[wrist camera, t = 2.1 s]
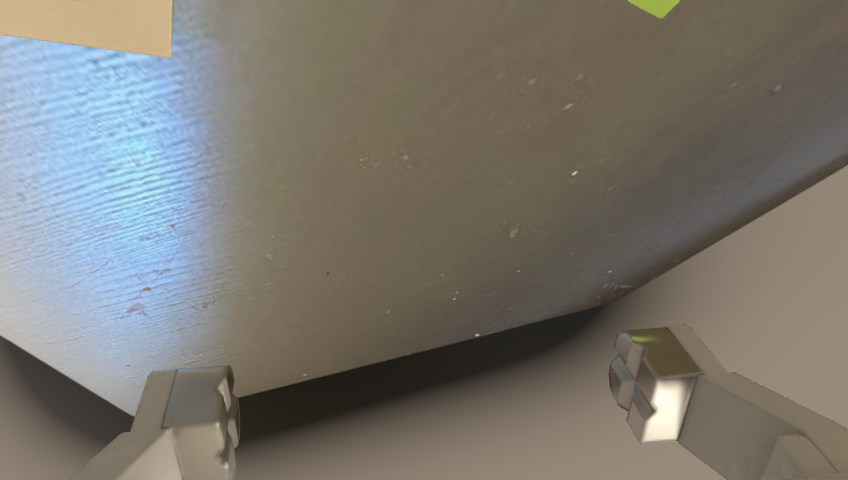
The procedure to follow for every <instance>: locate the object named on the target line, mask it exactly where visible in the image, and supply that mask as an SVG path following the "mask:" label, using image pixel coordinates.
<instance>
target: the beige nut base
mask: <svg viewBox="0 0 848 480" xmlns="http://www.w3.org/2000/svg"><path fill="white" fill-rule="evenodd" d="M173 25H174V0H0V35H6V36H13V37H20V38H28V39H35V40H42V41H50V42H57V43H64V44H71V45H79V46H86V47H93V48H101V49H108V50H115V51H123V52H130V53H137V54H145V55H152V56H159V57H166V58H170V57H171V51H172V39H173Z"/></svg>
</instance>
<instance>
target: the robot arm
mask: <svg viewBox="0 0 848 480" xmlns="http://www.w3.org/2000/svg"><path fill="white" fill-rule="evenodd" d="M614 347H615V348H616V350H617V352H618V353H619V354H618V355H617V356H616V357H615V358H614V359H613V360H612V361H611V363H610V369H609V382H610V389H611V392H612V395H613V397H614V399H615V401H616V402H617V405H619V406H620V407H622V408H623V409H625V410H627V411H628V416H627V422H628V424H629V426H630V427H631V429H632V431H633V433H634V434H635V436H636V438H637V440H638V441H639V443H640V444H648V443H659V442H672V441H679V442H678V443H679V444H680V445H682V446H683V447H684V448H686V449H687V450H688V451H690V452H691V453H692V454H694V455H695V456H696V457H698V458H699V459H700V460H702V461H703V462H704V463H706V464H707V465H709V466H710V467H711V468H712V469H713V470H715V471H716V472H718V473H719V474H720V475H721V476H723V477H724V478H725V479H727V480H848V429H847V428H846V427H844V426H842V425H840V424H838V423H836V422H834V421H832V420H830V419H828V418H826V417H824V416H822V415H820V414H818V413H816V412H814V411H812V410H810V409H808V408H806V407H804V406H802V405H800V404H798V403H796V402H794V401H792V400H790V399H788V398H786V397H784V396H782V395H780V394H778V393H776V392H774V391H772V390H770V389H768V388H766V387H764V386H762V385H760V384H758V383H756V382H754V381H752V380H750V379H748V378H746V377H743V376H742V375H740V374H738V373H736V372H731V373H728V372H727V370H726V369H725V368H724V367H723V365H722V364H721V363H720V362H719V361H718V359H717V358H716V357H715V356H714V355H713V353H712V352H711V351H710V350H709V349H708V347H707V346H706V345H705V344H704V342H703V341H702V340H701V339H700V338H699V337H698V335H697V334H696V333H695V332H694V330H693V329H692V328H691V327H689V326H688V325H686V324H685V325H675V326H666V327H663V328H650V329H640V330H629V331H620V332H619V333H618V335H617V337H616V340H615V345H614ZM233 387H234V377H233V372H232V368H231V367H230V365H228V366H213V367H198V368H182V369H173V370H159V371H152V372H151V373H150V374H149V376H148V377H147V381H146V384H145V387H144V390H143V393H142V396H141V399H140V403H139V406H138V409H137V412H136V415H135V418H134V421H133V424H132V428H131V431H130V432H126V433H122V434H120V435H119V436H118V437H117V438H116V439H115V440H113V441H112V442H111V443H110V444H109V445H108V446H107V447H105V448H104V449H103V450H102V451H101V452H100V453H98V454H97V455H96V456H95V457H94V458H92V459H91V460H90V461H89V462H88V463H87V464H85V465H84V466H83V467H82V468H81V469H80V470H78V471H77V472H76V473H75V474H74V475H73V476H71V477H70V478H69V479H68V480H234V476H235V468H236V459H235V453H234V449H235V447H237V445H238V444H239V434H240V415H239V405H238V399H237V397H236V396H235V395H234V394H233Z"/></svg>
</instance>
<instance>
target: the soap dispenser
mask: <svg viewBox="0 0 848 480" xmlns="http://www.w3.org/2000/svg"><path fill="white" fill-rule="evenodd" d="M627 1H629V2H630V3H632V4H634V5H635V6H637V7H639V8H641V9H642V10H644V11H646V12H648V13H650V14H652V15H654V16H656V17H658V18H663V17H664V16H665V15H666V14H667V13H668V12H669V11H670V10H671V9H672V8H673V7H674V6H675V5H676V4H677V3H678V2H679V1H680V0H627Z"/></svg>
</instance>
